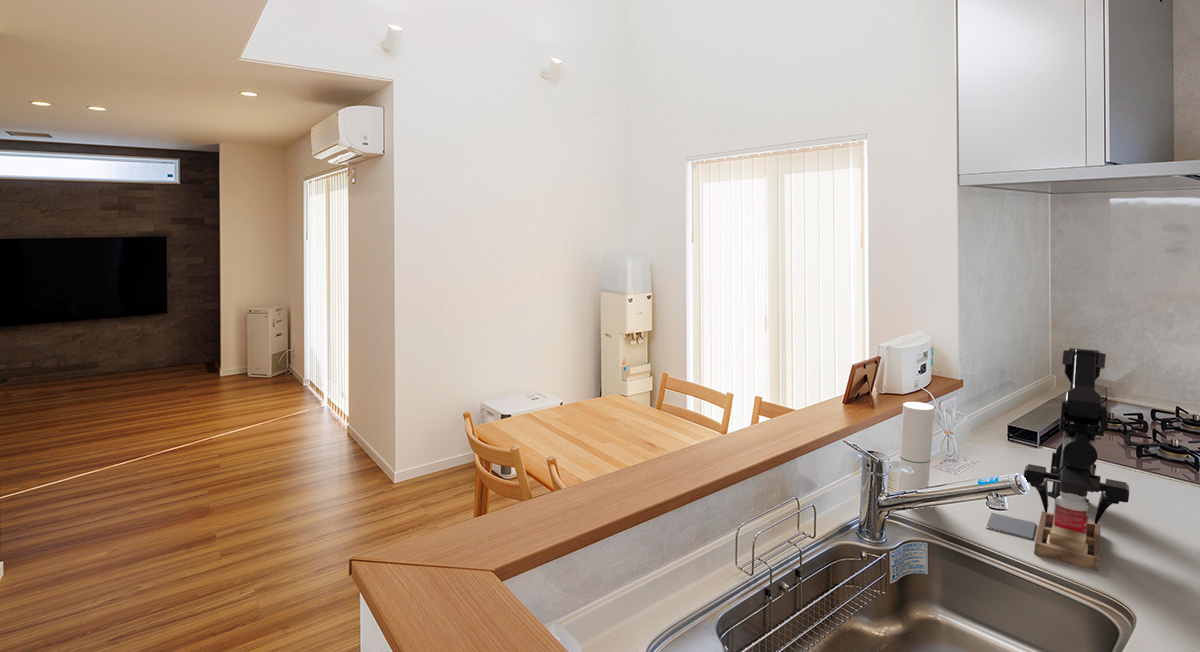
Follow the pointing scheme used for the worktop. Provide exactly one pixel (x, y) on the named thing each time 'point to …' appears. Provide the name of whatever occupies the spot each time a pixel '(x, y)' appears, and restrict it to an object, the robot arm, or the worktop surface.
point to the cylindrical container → (916, 444)
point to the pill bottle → (1071, 512)
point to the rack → (1067, 554)
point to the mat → (1011, 525)
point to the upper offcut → (1068, 538)
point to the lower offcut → (1067, 548)
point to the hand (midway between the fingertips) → (1070, 517)
